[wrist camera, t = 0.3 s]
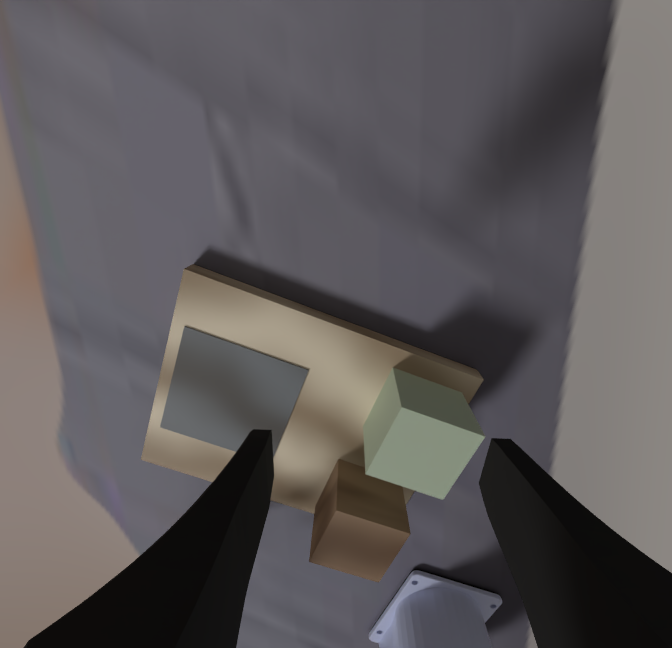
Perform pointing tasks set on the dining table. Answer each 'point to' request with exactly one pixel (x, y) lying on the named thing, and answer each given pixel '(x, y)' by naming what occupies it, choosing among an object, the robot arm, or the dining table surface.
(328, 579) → the dining table surface
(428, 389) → the sage block
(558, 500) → the robot arm
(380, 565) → the walnut block
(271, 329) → the baseplate
